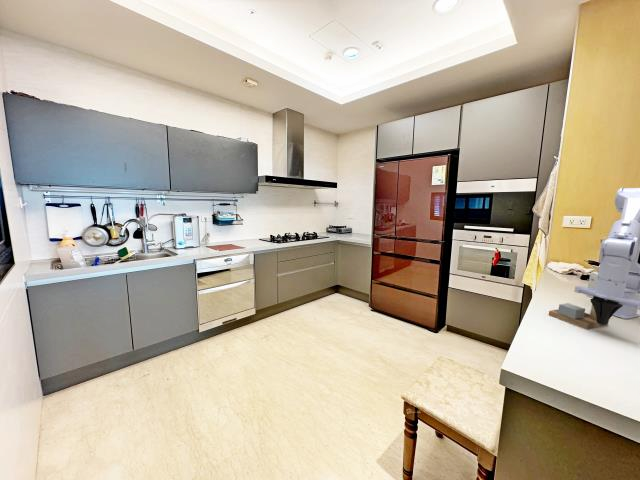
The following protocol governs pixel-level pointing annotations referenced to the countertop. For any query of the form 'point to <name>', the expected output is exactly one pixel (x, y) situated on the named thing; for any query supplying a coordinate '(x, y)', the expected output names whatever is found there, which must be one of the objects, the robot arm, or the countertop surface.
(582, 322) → the board
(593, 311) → the peg
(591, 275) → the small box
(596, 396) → the countertop surface
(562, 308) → the grey block
